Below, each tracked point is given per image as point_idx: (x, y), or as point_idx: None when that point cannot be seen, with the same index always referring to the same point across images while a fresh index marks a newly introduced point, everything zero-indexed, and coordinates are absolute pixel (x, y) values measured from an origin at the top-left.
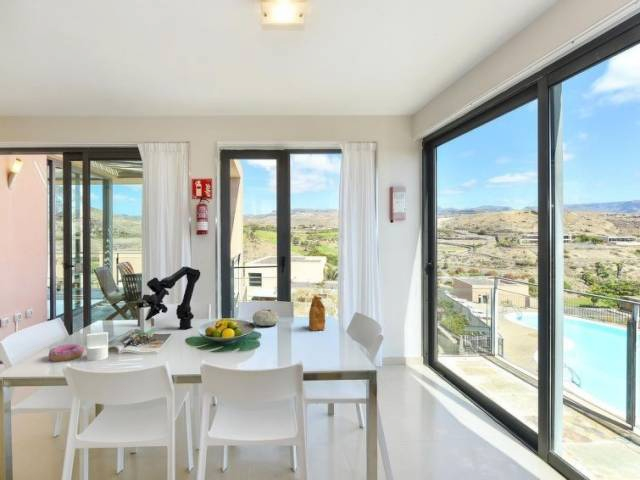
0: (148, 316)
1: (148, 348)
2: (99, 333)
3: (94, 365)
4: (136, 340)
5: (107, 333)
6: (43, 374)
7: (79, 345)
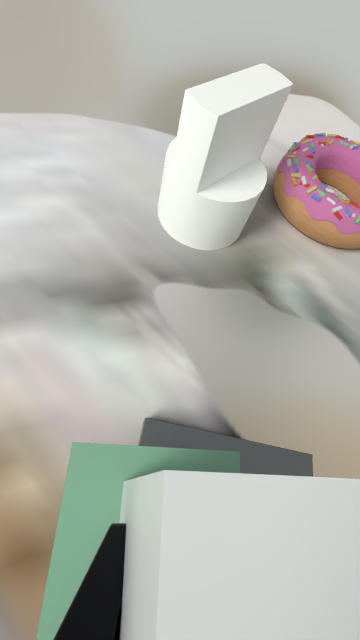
0: (67, 617)
1: (18, 398)
2: (236, 90)
3: (131, 149)
4: None
5: (186, 93)
6: None
7: (344, 206)
